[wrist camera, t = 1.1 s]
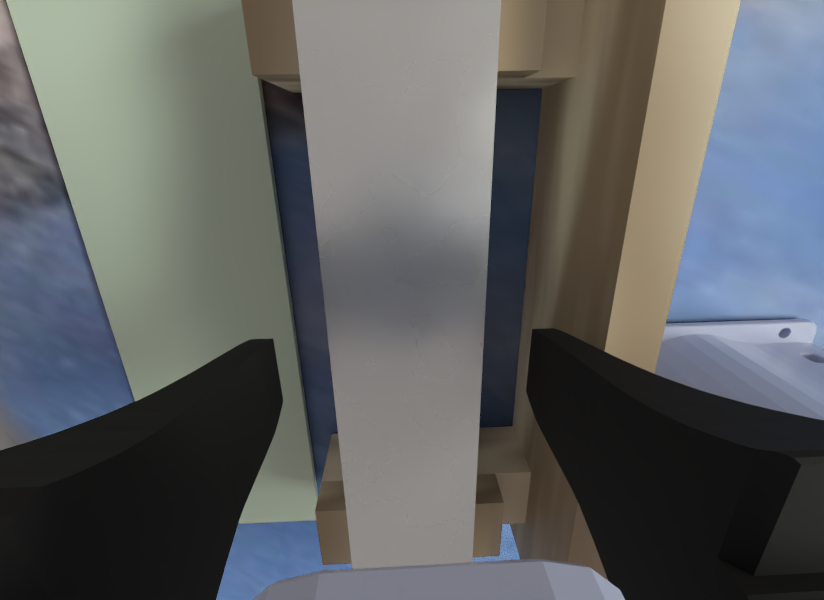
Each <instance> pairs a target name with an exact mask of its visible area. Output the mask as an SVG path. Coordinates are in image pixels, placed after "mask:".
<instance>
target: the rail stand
mask: <svg viewBox="0 0 824 600" xmlns="http://www.w3.org/2000/svg"><path fill="white" fill-rule="evenodd" d="M740 2H741V0H501V14H500V33H499V53H498V72H497V89H534V88H542V96H541V108H540V119H539V130H538V142H537V153H536V164H535V176H534V187H533V198H532V210H531V221H530V233H529V244H528V255H527V267H526V278H525V289H524V301H523V312H522V323H521V335H520V346H519V358H518V369H517V380H516V392H515V403H514V414H513V426H506V427H482V428H479V443H478V462H477V482H476V501H475V521H474V540H473V557H485V556H499V554H500V543H501V531H502V524H510V526H511V529H512V533H513V536H514V539H515V543H516V546H517V549H518V553H519V556H520V559H521V560H522V559H545V560H552V561H559V562H567V563H574V564H581V565H584V566H587V567H590V568H591V569H593V570H594V571H595V572H597V573H598V574H600V575H601V576H602V577H604V578H605V579H606V580H607V576H606V573H605V570H604V568H603V565H602V562H601V560H600V557H599V554H598V552H597V549H596V546H595V543H594V541H593V538H592V536H591V533H590V531H589V528H588V526H587V523H586V521H585V518H584V516H583V513H582V511H581V508H580V506H579V503H578V501H577V499H576V497H575V495H574V493H573V491H572V489H571V487H570V485H569V483H568V481H567V479H566V477H565V475H564V473H563V472H562V470H561V468H560V466H559V464H558V462H557V460H556V458H555V456H554V454H553V452H552V451H551V449H550V447H549V445H548V443H547V441H546V439H545V437H544V435H543V433H542V431H541V429H540V427H539V425H538V423H537V421H536V419H535V416H534V413H533V411H532V408H531V405H530V402H529V399H528V396H527V393H526V385H527V375H528V365H529V355H530V345H531V335H532V329H546V328H555V329H558V330H560V331H563V332H565V333H567V334H570V335H572V336H574V337H576V338H578V339H580V340H582V341H584V342H586V343H588V344H590V345H592V346H594V347H596V348H598V349H600V350H602V351H605V352H607V353H609V354H611V355H613V356H615V357H617V358H619V359H621V360H624V361H626V362H628V363H630V364H633V365H635V366H637V367H640V368H642V369H644V370H647V371H649V372H651V373H655V368H656V364H657V360H658V355H659V351H660V347H661V343H662V338H663V334H664V330H665V325H666V321H667V317H668V312H669V308H670V304H671V299H672V295H673V291H674V286H675V282H676V278H677V273H678V269H679V265H680V260H681V256H682V252H683V248H684V243H685V239H686V235H687V230H688V226H689V222H690V217H691V213H692V209H693V204H694V200H695V196H696V191H697V187H698V183H699V178H700V174H701V170H702V166H703V161H704V157H705V153H706V148H707V144H708V140H709V135H710V131H711V127H712V122H713V118H714V114H715V109H716V105H717V101H718V96H719V92H720V88H721V84H722V79H723V75H724V71H725V66H726V62H727V58H728V53H729V49H730V45H731V40H732V36H733V32H734V27H735V23H736V19H737V14H738V10H739V6H740ZM241 3H242V10H243V16H244V23H245V30H246V37H247V44H248V51H249V58H250V65H251V72H252V75H254V76H256V77H258V78H260V79H263V80H265V81H267V82H270V83H272V84H274V85H276V86H279V87H281V88H283V89H286V90H288V91H290V92H293V93H301V92H302V90H301V80H300V71H299V61H298V52H297V43H296V33H295V24H294V14H293V5H292V0H241ZM315 515H316V522H317V529H318V536H319V542H320V549H321V556H322V563H323V565H328V564H348V563H352V560H351V551H350V542H349V532H348V523H347V513H346V504H345V495H344V485H343V476H342V466H341V457H340V447H339V438H338V434H331V439H330V444H329V448H328V453H327V458H326V462H325V467H324V472H323V476H322V481H321V486H320V491H319V495H318V500H317V505H316V509H315Z"/></svg>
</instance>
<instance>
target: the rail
mask: <svg viewBox="0 0 824 600" xmlns="http://www.w3.org/2000/svg"><path fill="white" fill-rule="evenodd" d="M292 5H293V14H294V24H295V33H296V43H297V52H298V61H299V71H300V80H301V90H302V99H303V108H304V118H305V127H306V137H307V146H308V156H309V165H310V174H311V184H312V193H313V203H314V212H315V221H316V231H317V240H318V250H319V259H320V269H321V278H322V287H323V297H324V306H325V316H326V325H327V334H328V344H329V353H330V363H331V372H332V382H333V391H334V400H335V410H336V419H337V429H338V438H339V447H340V457H341V466H342V476H343V485H344V495H345V504H346V513H347V523H348V532H349V542H350V551H351V560H352V569H359V568H377V567H395V566H413V565H432V564H450V563H468V562H472V560H473V540H474V521H475V501H476V482H477V462H478V443H479V423H480V404H481V384H482V365H483V345H484V326H485V306H486V287H487V267H488V248H489V228H490V209H491V189H492V170H493V150H494V131H495V111H496V92H497V72H498V53H499V33H500V14H501V0H292Z"/></svg>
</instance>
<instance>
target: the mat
mask: <svg viewBox="0 0 824 600" xmlns="http://www.w3.org/2000/svg"><path fill="white" fill-rule="evenodd" d="M6 1H7V5H8V8H9V11H10V14H11V17H12V20H13V23H14V26H15V29H16V33H17V36H18V39H19V42H20V45H21V48H22V51H23V54H24V57H25V61H26V64H27V67H28V70H29V73H30V76H31V79H32V82H33V85H34V89H35V92H36V95H37V98H38V101H39V104H40V107H41V110H42V113H43V117H44V120H45V123H46V126H47V129H48V132H49V135H50V138H51V141H52V145H53V148H54V151H55V154H56V157H57V160H58V163H59V166H60V169H61V173H62V176H63V179H64V182H65V185H66V188H67V191H68V194H69V197H70V201H71V204H72V207H73V210H74V213H75V216H76V219H77V222H78V225H79V229H80V232H81V235H82V238H83V241H84V244H85V247H86V250H87V253H88V257H89V260H90V263H91V266H92V269H93V272H94V275H95V278H96V281H97V285H98V288H99V291H100V294H101V297H102V300H103V303H104V306H105V309H106V313H107V316H108V319H109V322H110V325H111V328H112V331H113V334H114V337H115V341H116V344H117V347H118V350H119V353H120V356H121V359H122V362H123V365H124V369H125V372H126V375H127V378H128V381H129V384H130V387H131V390H132V393H133V397H134V400H135V401H138V400H140V399H142V398H144V397H146V396H148V395H150V394H152V393H154V392H156V391H158V390H160V389H162V388H164V387H166V386H168V385H169V384H171V383H173V382H175V381H177V380H179V379H180V378H182V377H184V376H186V375H188V374H190V373H192V372H193V371H195V370H197V369H199V368H200V367H202V366H204V365H205V364H207V363H209V362H210V361H212V360H214V359H215V358H217V357H219V356H221V355H222V354H224V353H226V352H227V351H229V350H231V349H232V348H234V347H236V346H238V345H240V344H241V343H243V342H246V341H248V340H250V339H271V338H273V340H274V346H275V353H276V359H277V365H278V371H279V377H280V383H281V390H282V396H283V404H282V409H281V413H280V417H279V421H278V424H277V428H276V432H275V434H274V437H273V439H272V442H271V444H270V447H269V449H268V452H267V454H266V456H265V459H264V461H263V463H262V466H261V468H260V471H259V473H258V475H257V478H256V480H255V482H254V485H253V487H252V489H251V492H250V494H249V496H248V499H247V501H246V504H245V506H244V509H243V511H242V514H241V517H240V519H239V522H238V524H246V523H267V522H288V521H309V520H316V515H315V509H316V505H317V500H318V489H317V482H316V474H315V467H314V460H313V453H312V445H311V438H310V431H309V423H308V416H307V409H306V402H305V394H304V387H303V380H302V373H301V365H300V358H299V351H298V344H297V336H296V329H295V322H294V315H293V307H292V300H291V293H290V285H289V278H288V271H287V264H286V256H285V249H284V242H283V235H282V227H281V220H280V213H279V206H278V198H277V191H276V184H275V176H274V169H273V162H272V155H271V147H270V140H269V133H268V126H267V118H266V111H265V104H264V97H263V89H262V82H261V79H260V78H258V77H256V76H254V75H252V72H251V65H250V58H249V51H248V44H247V37H246V30H245V23H244V16H243V10H242V3H241V0H6Z"/></svg>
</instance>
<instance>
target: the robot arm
mask: <svg viewBox="0 0 824 600" xmlns="http://www.w3.org/2000/svg"><path fill="white" fill-rule="evenodd" d="M781 330H782V331H781ZM780 331H781V332H780ZM816 331H817V326H816V324H815V323H814V322H812V321H809V320H807V319H784V320H755V321H726V322H697V323H668V324H666V325H665V330H664V334H663V338H662V343H661V347H660V351H659V355H658V360H657V364H656V368H655V373H651V372H649V371H647V370H644V369H642V368H640V367H637V366H635V365H633V364H630V363H628V362H626V361H624V360H621V359H619V358H617V357H615V356H613V355H611V354H609V353H607V352H605V351H602V350H600V349H598V348H596V347H594V346H592V345H590V344H588V343H586V342H584V341H582V340H580V339H578V338H576V337H574V336H572V335H570V334H567V333H565V332H563V331H560V330H558V329H555V328H546V329H532V335H531V345H530V355H529V365H528V375H527V385H526V393H527V396H528V399H529V402H530V405H531V408H532V411H533V413H534V416H535V419H536V421H537V423H538V425H539V427H540V429H541V431H542V433H543V435H544V437H545V439H546V441H547V443H548V445H549V447H550V449H551V451H552V452H553V454H554V456H555V458H556V460H557V462H558V464H559V466H560V468H561V470H562V472H563V473H564V475H565V477H566V479H567V481H568V483H569V485H570V487H571V489H572V491H573V493H574V495H575V497H576V499H577V501H578V503H579V506H580V508H581V511H582V513H583V516H584V518H585V521H586V523H587V526H588V528H589V531H590V533H591V536H592V538H593V541H594V543H595V546H596V549H597V552H598V554H599V557H600V560H601V562H602V565H603V568H604V570H605V573H606V576H607V579H608V580H606V579H605V578H604V577H602V576H601V575H600V574H598V573H597V572H595V571H594V570H593V569H591V568H590V567H587V566H584V565H581V564H574V563H567V562H559V561H552V560H545V559H522V560H504V561H486V562H468V563H450V564H432V565H413V566H395V567H377V568H359V569H341V570H323V571H318V572H314V573H310V574H306V575H302V576H298V577H294V578H289V579H285V580H281V581H278V582H276V583H274V584H272V585H270V586H269V587H267V588H266V589H265V590H264V591H263V592H261V593H260V594H259V595H258V596H257V597H255V598H254V599H253V600H824V349H822V348H820V347H818V346H816V345H814V344H812V342H813V339H814V337H815V334H816ZM779 332H780V333H779ZM282 404H283V396H282V390H281V383H280V377H279V371H278V365H277V359H276V353H275V346H274V340H273V338H271V339H250V340H248V341H246V342H243V343H241V344H240V345H238V346H236V347H234V348H232V349H231V350H229V351H227V352H226V353H224V354H222V355H221V356H219V357H217V358H215V359H214V360H212V361H210V362H209V363H207V364H205V365H204V366H202V367H200V368H199V369H197V370H195V371H193V372H192V373H190V374H188V375H186V376H184V377H182V378H180V379H179V380H177V381H175V382H173V383H171V384H169V385H168V386H166V387H164V388H162V389H160V390H158V391H156V392H154V393H152V394H150V395H148V396H146V397H144V398H142V399H140V400H138V401H135V402H133V403H131V404H129V405H126V406H124V407H122V408H120V409H117V410H115V411H113V412H110V413H108V414H105V415H103V416H100V417H97V418H95V419H92V420H90V421H87V422H84V423H82V424H79V425H76V426H74V427H71V428H68V429H66V430H63V431H60V432H57V433H55V434H52V435H49V436H45V437H42V438H39V439H36V440H33V441H30V442H27V443H24V444H20V445H17V446H14V447H11V448H7V449H4V450H1V451H0V600H216V597H217V593H218V590H219V586H220V583H221V579H222V576H223V572H224V568H225V565H226V561H227V558H228V555H229V552H230V548H231V545H232V542H233V538H234V535H235V532H236V528H237V525H238V522H239V519H240V517H241V514H242V511H243V509H244V506H245V504H246V501H247V499H248V496H249V494H250V492H251V489H252V487H253V485H254V482H255V480H256V478H257V475H258V473H259V471H260V468H261V466H262V463H263V461H264V459H265V456H266V454H267V452H268V449H269V447H270V444H271V442H272V439H273V437H274V434H275V432H276V428H277V424H278V421H279V417H280V413H281V409H282Z"/></svg>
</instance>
